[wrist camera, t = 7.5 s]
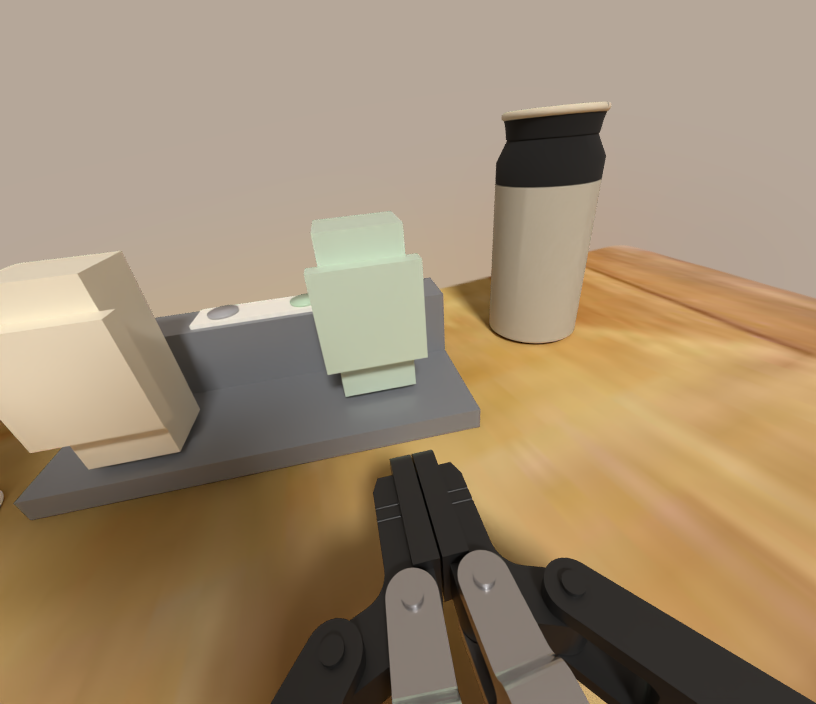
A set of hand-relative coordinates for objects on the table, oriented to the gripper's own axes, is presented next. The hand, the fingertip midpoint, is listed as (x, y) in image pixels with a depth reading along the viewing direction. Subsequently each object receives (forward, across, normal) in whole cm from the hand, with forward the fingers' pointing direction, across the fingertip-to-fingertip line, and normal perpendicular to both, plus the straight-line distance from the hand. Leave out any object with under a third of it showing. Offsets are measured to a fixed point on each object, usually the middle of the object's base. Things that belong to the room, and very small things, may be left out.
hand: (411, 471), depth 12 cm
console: (+14, +8, +7) cm, 18 cm away
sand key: (+11, +15, +5) cm, 19 cm away
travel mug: (+20, -16, +7) cm, 27 cm away
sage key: (+13, 0, +5) cm, 14 cm away
